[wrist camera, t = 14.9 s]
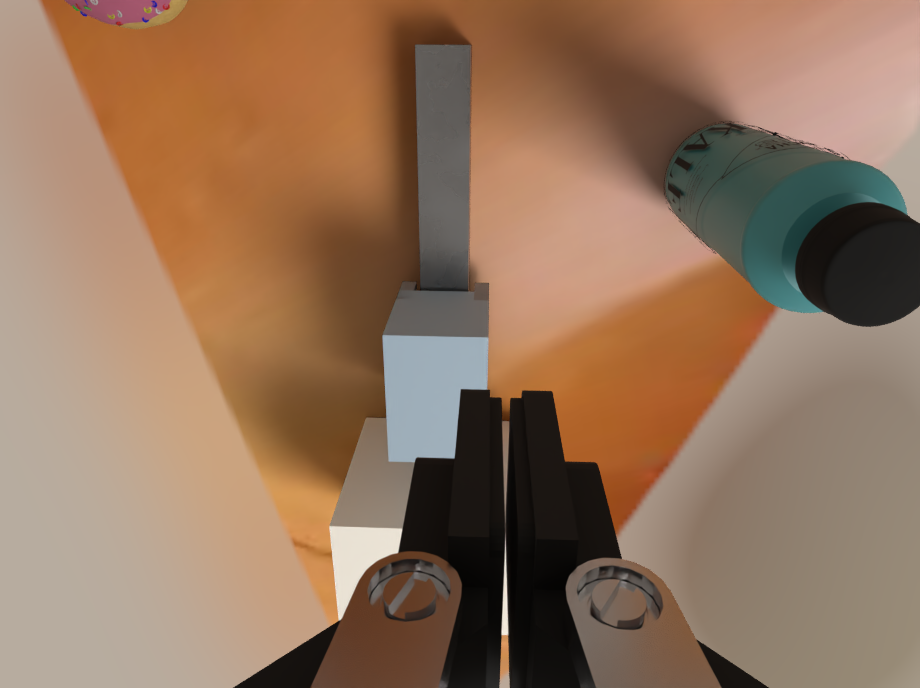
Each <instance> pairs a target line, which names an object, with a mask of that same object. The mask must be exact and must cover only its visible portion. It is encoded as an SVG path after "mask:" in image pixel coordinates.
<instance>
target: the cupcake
mask: <svg viewBox="0 0 920 688" xmlns="http://www.w3.org/2000/svg"><path fill="white" fill-rule="evenodd" d="M65 1H66V2H67V3H68V4H70V5H71V6H73V8H74V9H75V10H77V11H80V13H81V14H82V15H83V16H87V15H88V16H91V17H93V18H95V19H97V20H99V21H101V22H104V23H107V24H110V25H114V26H119V27H124V28H130V29H143V28H148V27H152V26H157V25H161V24H164V23H167V22H169V21H171V20H173V19H174V18H175V17H176V16H177V15H178V14H179V13H180V12H181V11H182V10H183V9H184V7H185V5H186V3H187V1H188V0H65ZM83 13H84V14H83Z"/></svg>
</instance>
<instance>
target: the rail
mask: <svg viewBox="0 0 920 688" xmlns="http://www.w3.org/2000/svg"><path fill="white" fill-rule="evenodd" d="M415 62H416V108H417V153H418V198H419V244H420V289H421V291H464V292H469V260H470V167H471V73H472V45H415Z"/></svg>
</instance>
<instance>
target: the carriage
mask: <svg viewBox="0 0 920 688" xmlns="http://www.w3.org/2000/svg"><path fill="white" fill-rule="evenodd" d="M488 323H489V283H475V290H474V292H464V291H417V282H409V281H403V282H402V285H401V287H400V290H399V293H398V295H397V298H396V301H395V303H394V306H393V308H392V311H391V314H390V316H389V319H388V322H387V324H386V327H385V330H384V332H383V335H382V336H383V357H384V377H385V397H386V418H387V438H388V458H389V462H415V459H416V458H417V457H424V458H455V448H456V437H457V425H458V414H459V403H460V392H461V389H481V390H487V373H488Z"/></svg>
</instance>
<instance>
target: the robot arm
mask: <svg viewBox="0 0 920 688" xmlns="http://www.w3.org/2000/svg"><path fill="white" fill-rule="evenodd" d="M505 540H506V574H507V609H508V643H509V677H510V688H768V687H767V686H766V685H764V684H762V683H761V682H760V681H758V680H757V679H755V678H753V677H752V676H751V675H749V674H748V673H746V672H744V671H743V670H742V669H740V668H739V667H737V666H736V665H734V664H733V663H731V662H730V661H728V660H727V659H725V658H724V657H722V656H720V655H719V654H717V653H716V652H715V651H713V650H711V649H710V648H708V647H707V646H705V645H704V644H702V643H701V642H699V641H698V640H696V638H695V636H694V634H693V633H692V631H691V629H690V627H689V625H688V623H687V621H686V619H685V617H684V616H683V614H682V612H681V610H680V608H679V606H678V604H677V602H676V600H675V598H674V596H673V595H672V593H671V591H670V590H669V588H668V587H667V586H666V584H665V583H664V582H663V580H662V579H661V578H659V577H658V576H657V575H656V574H654V573H653V572H652V571H650V570H649V569H647V568H645V567H643V566H641V565H639V564H637V563H634V562H631V561H627V560H623V559H622V557H621V554H620V550H619V546H618V542H617V538H616V534H615V530H614V526H613V522H612V518H611V514H610V510H609V506H608V503H607V499H606V495H605V491H604V487H603V483H602V479H601V475H600V471H599V468H598V465H597V463H595V462H565V460H564V454H563V448H562V443H561V437H560V431H559V426H558V420H557V415H556V409H555V403H554V398H553V393H552V391H522V397H521V398H511V400H510V420H509V444H508V468H507V492H506V517H505V502H504V468H503V434H502V400H501V398H493V397H490V390H481V389H461V392H460V403H459V414H458V425H457V437H456V448H455V458H424V457H417V458H416V459H415V463H414V469H413V474H412V479H411V485H410V490H409V496H408V501H407V507H406V512H405V518H404V523H403V528H402V534H401V539H400V545H399V550H398V553H395V554H391V555H389V556H387V557H384V558H382V559H380V560H378V561H376V562H375V563H374V564H373V565H371V566H370V567H369V568H368V569H366V571H365V572H364V574H363V575H362V577H361V578H360V580H359V581H358V584H357V586H356V588H355V590H354V592H353V595H352V597H351V599H350V601H349V603H348V606H347V608H346V610H345V612H344V615H343V617H342V619H341V620H339V621H338V622H336V623H335V624H333V625H332V626H330V627H328V628H327V629H326V630H324V631H322V632H321V633H319V634H317V635H316V636H314V637H313V638H311V639H309V640H308V641H306V642H305V643H303V644H302V645H300V646H298V647H297V648H295V649H294V650H292V651H291V652H289V653H287V654H286V655H284V656H283V657H281V658H279V659H278V660H276V661H275V662H273V663H272V664H270V665H269V666H267V667H265V668H264V669H262V670H261V671H259V672H257V673H256V674H254V675H253V676H251V677H250V678H248V679H246V680H245V681H243V682H242V683H240V684H238V685H237V686H235V687H234V688H499V682H500V659H501V635H502V612H503V588H504V564H505Z"/></svg>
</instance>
